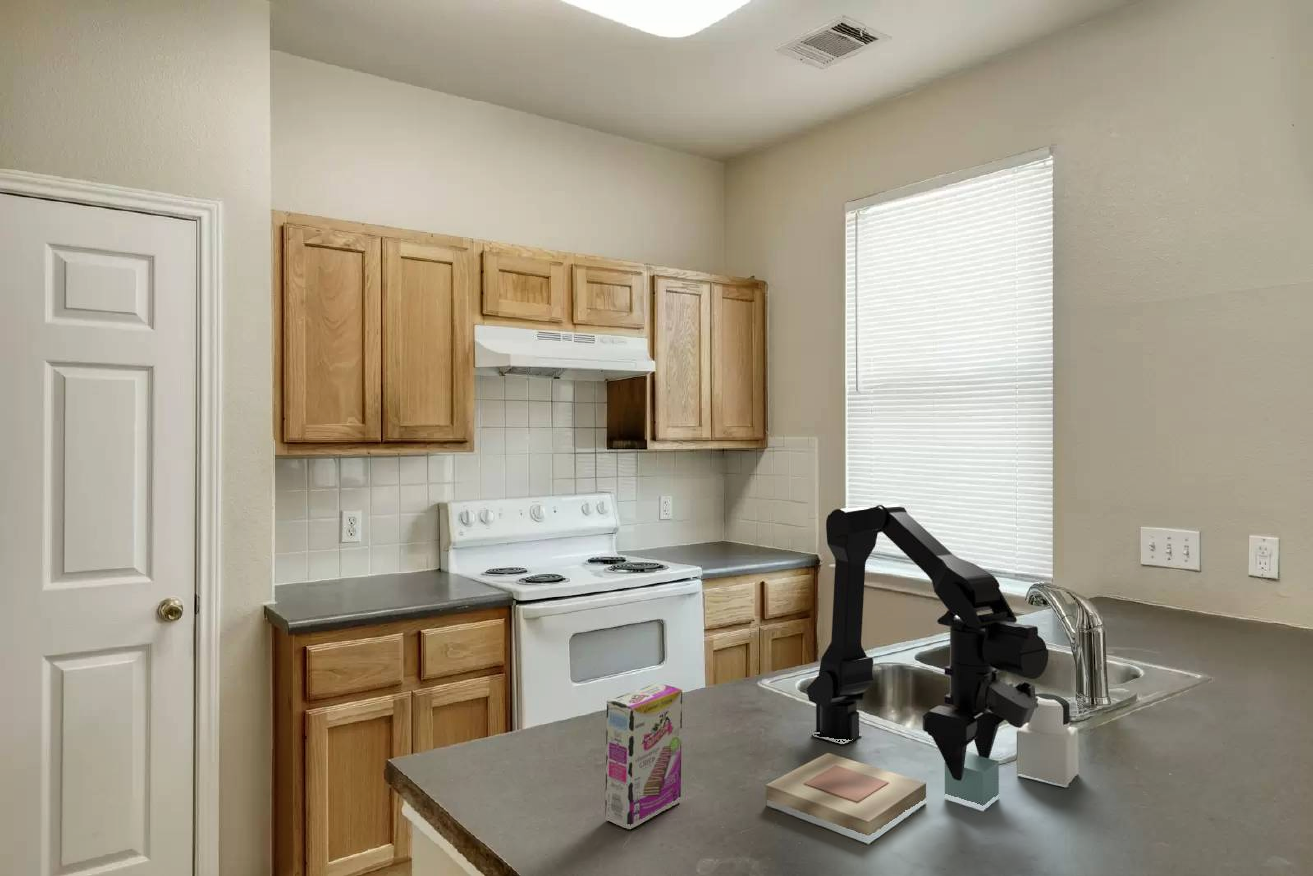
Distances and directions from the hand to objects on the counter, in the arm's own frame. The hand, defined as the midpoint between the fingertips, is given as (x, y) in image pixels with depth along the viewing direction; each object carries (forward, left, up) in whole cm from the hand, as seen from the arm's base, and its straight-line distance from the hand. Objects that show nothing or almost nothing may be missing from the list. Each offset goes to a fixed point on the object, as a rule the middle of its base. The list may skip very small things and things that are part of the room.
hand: (971, 770), depth 117 cm
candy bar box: (-31, -35, -4) cm, 47 cm away
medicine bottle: (+5, +16, -4) cm, 17 cm away
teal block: (0, 0, -4) cm, 4 cm away
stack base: (-12, -14, -4) cm, 19 cm away
